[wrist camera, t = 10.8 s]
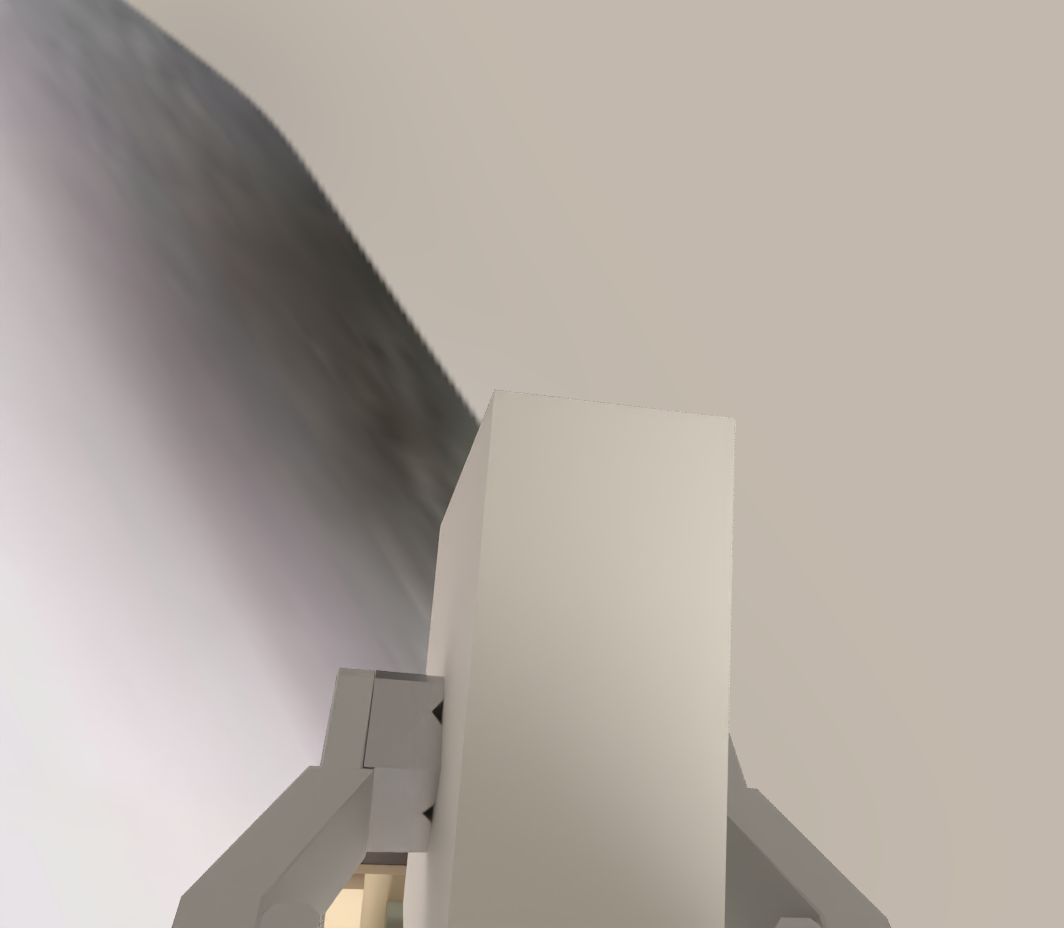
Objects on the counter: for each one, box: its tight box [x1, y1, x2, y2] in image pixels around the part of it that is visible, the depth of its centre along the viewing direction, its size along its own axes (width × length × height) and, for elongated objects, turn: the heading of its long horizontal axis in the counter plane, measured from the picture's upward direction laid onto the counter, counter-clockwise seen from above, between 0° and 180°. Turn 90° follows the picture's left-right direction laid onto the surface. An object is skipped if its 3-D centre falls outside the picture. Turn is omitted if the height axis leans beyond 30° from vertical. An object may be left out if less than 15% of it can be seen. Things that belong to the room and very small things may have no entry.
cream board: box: [403, 390, 735, 928], centre depth 13 cm, size 8×2×11 cm, turn 176°
